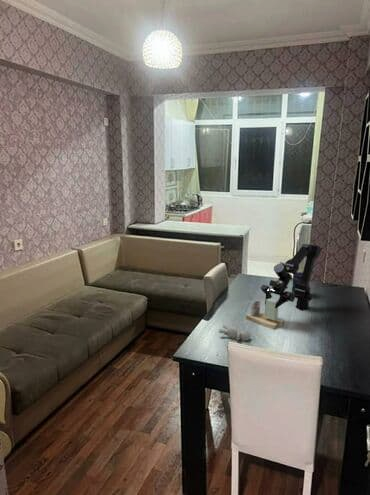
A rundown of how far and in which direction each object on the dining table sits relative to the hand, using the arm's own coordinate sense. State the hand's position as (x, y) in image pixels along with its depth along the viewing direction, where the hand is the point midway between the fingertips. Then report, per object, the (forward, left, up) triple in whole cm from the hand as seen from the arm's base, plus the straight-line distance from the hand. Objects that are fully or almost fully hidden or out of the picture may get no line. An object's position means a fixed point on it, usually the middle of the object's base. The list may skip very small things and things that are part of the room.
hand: (270, 306), depth 192 cm
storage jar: (-45, -31, -11) cm, 55 cm away
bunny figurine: (+25, +6, -11) cm, 28 cm away
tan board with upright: (0, -4, -10) cm, 11 cm away
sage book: (-1, -1, -7) cm, 7 cm away
